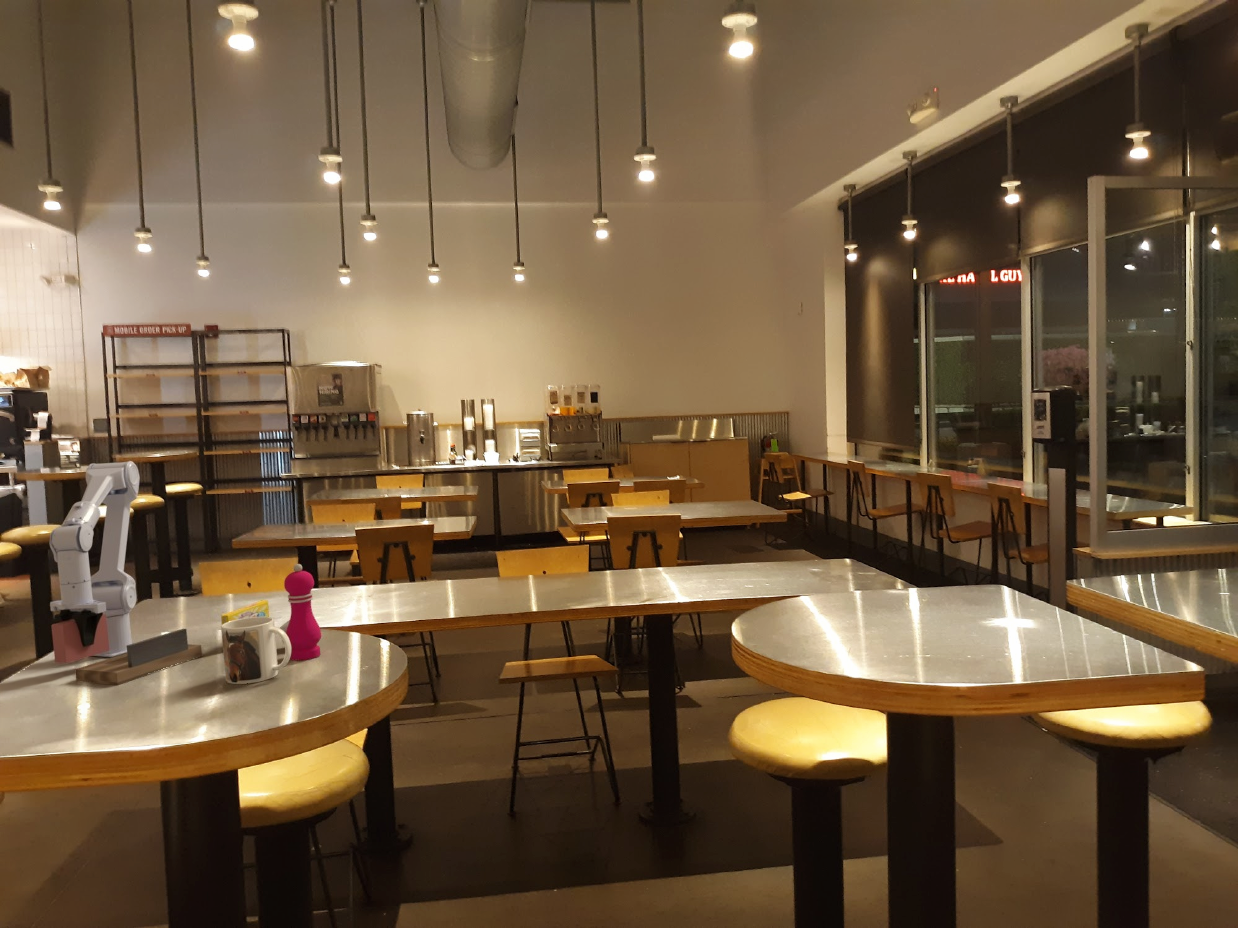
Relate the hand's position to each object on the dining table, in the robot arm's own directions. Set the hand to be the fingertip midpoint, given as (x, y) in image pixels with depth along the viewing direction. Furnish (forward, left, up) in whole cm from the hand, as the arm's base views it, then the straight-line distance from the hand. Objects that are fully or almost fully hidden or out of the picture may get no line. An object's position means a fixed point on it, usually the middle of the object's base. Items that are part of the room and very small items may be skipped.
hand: (81, 644), depth 200 cm
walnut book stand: (+12, +4, -5) cm, 14 cm away
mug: (+44, +4, -6) cm, 45 cm away
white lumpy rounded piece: (+35, +25, -6) cm, 43 cm away
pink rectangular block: (0, 0, -2) cm, 2 cm away
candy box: (+19, +27, -6) cm, 33 cm away
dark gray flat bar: (+18, +4, -3) cm, 18 cm away
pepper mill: (+43, +19, -6) cm, 47 cm away
